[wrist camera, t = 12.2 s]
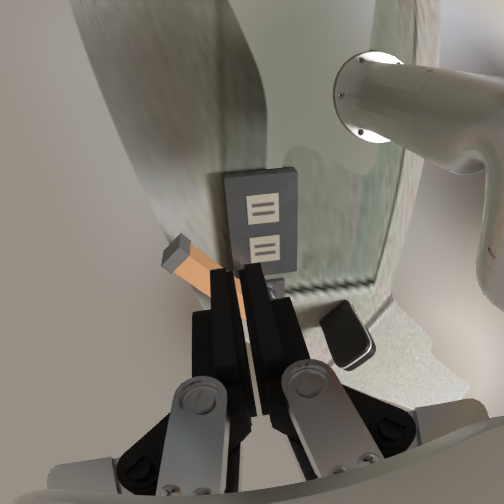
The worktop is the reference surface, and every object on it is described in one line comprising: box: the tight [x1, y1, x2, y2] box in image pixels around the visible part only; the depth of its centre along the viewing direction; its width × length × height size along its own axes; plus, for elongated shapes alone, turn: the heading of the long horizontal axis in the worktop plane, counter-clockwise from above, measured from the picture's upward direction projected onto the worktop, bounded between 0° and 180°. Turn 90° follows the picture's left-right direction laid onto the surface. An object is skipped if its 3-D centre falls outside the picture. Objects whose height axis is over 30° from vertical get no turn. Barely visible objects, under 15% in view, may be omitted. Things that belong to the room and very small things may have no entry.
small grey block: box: [265, 278, 284, 300], centre depth 49 cm, size 6×6×4 cm
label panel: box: [223, 167, 298, 279], centre depth 43 cm, size 9×15×2 cm, turn 3°
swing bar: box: [161, 233, 246, 321], centre depth 42 cm, size 4×20×3 cm, turn 43°
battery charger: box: [319, 300, 376, 371], centre depth 51 cm, size 7×4×11 cm, turn 135°
